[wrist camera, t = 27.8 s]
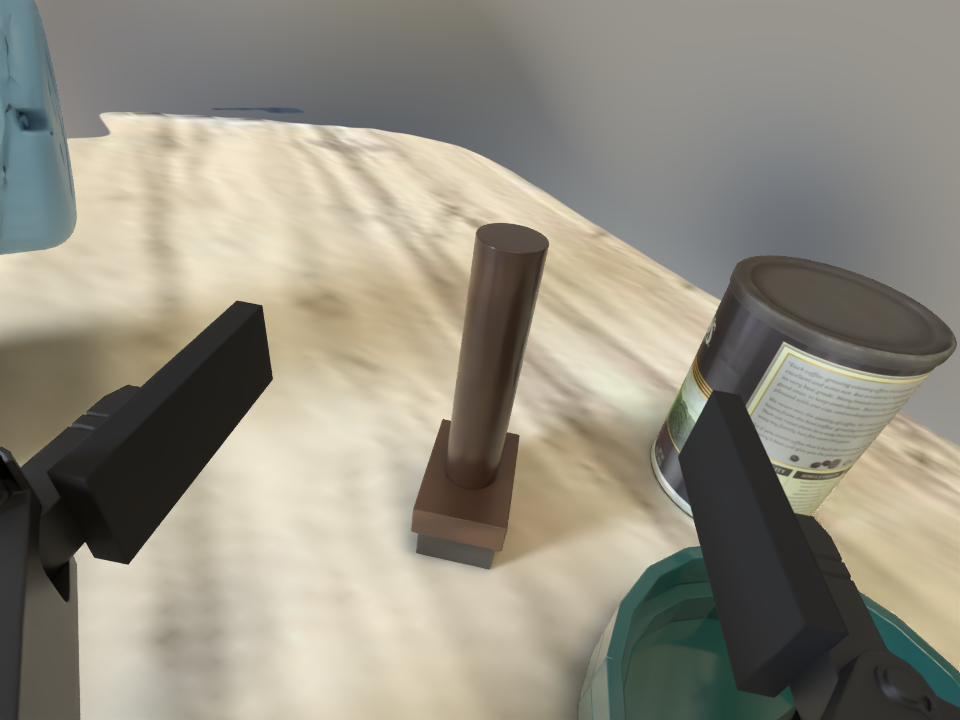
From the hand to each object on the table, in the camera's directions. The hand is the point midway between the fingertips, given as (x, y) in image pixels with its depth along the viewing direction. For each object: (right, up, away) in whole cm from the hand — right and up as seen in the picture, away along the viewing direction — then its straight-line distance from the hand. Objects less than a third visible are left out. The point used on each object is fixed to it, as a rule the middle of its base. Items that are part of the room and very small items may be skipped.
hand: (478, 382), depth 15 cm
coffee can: (+17, -8, +19) cm, 27 cm away
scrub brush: (-1, -8, +14) cm, 16 cm away
